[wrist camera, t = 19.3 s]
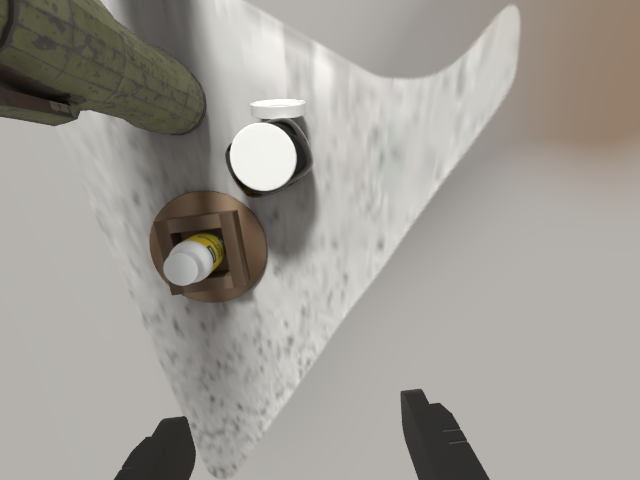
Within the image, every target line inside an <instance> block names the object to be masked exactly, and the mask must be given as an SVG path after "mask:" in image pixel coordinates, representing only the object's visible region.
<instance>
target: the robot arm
mask: <svg viewBox="0 0 640 480" xmlns="http://www.w3.org/2000/svg"><path fill="white" fill-rule="evenodd" d="M401 409H402V425H403V432H404V436H405V441H406V444H407V447H408V450H409V453H410V456H411V459H412V461H413V464H414V468H415V470H416V473H417V476H418V479H419V480H490V479H489V477H488V476H487V474H486V472H485V471H484V469H483V467H482V465H481V464H480V462H479V460H478V459H477V457H476V455H475V453H474V451H473V450H472V448H471V446H470V444H469V443H468V442H467V439H466V437H465V436H464V434H463V432H462V431H461V430H460V427H459V425H458V423H457V422H456V420H455V419H454V417H453V415H452V413H450V412H449V411H448V410H447V409H446V408H445V407H444V406H442V405H441V404H440V403H434V404H429V402H428V400H427V398H426V396H425V394H424V392H423V391H422V389H415V390H406V391H401ZM195 456H196V451H195V446H194V442H193V438H192V435H191V431H190V427H189V423H188V420H187V418H186V417H185V416H182V417H174V418H165V419H163V420H162V421H161V422H160V423H159V425H158V426H157V428H156V430H155V432H154V433H153V435H152V436H151V437H146V438H145V439H144V440H143V441H142V442H141V443H140V444H139V445H138V446H137V447H136V448H135V449H134V450H133V451H132V452H131V454H130V455H129V457H128V458H127V460H126V461H125V463H124V465H123V466H122V470H120V471H119V472H118V474H117V476H116V477H115V479H114V480H189V478H190V476H191V473H192V471H193V468H194V463H195Z"/></svg>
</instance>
